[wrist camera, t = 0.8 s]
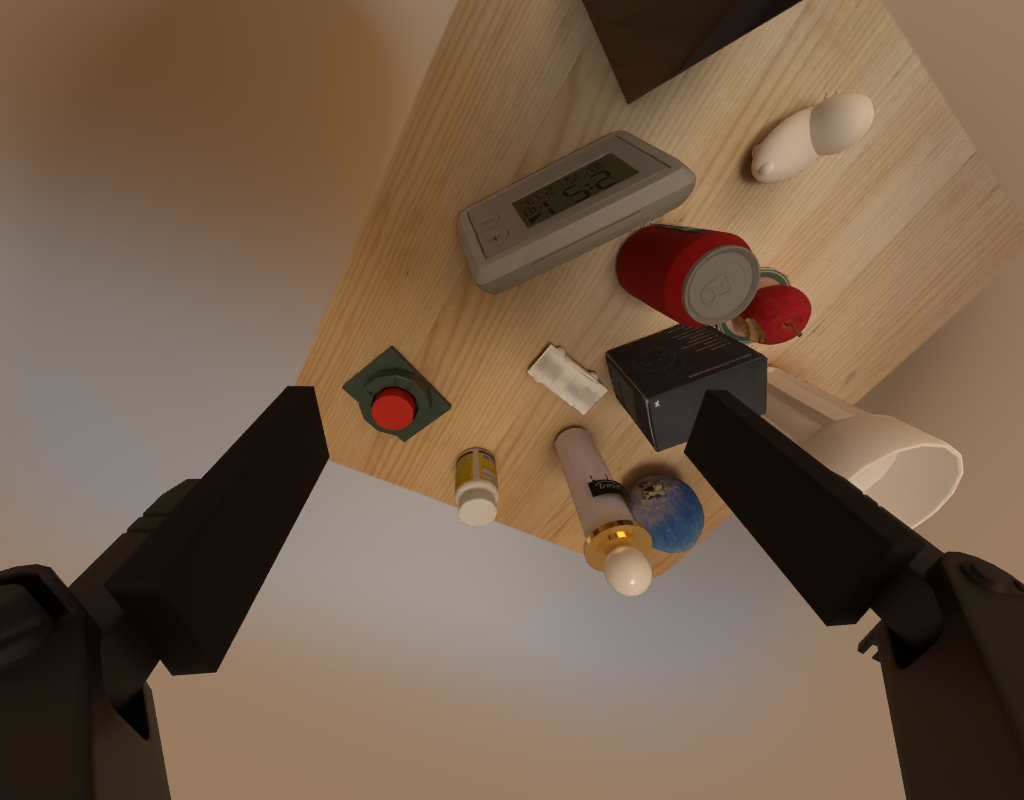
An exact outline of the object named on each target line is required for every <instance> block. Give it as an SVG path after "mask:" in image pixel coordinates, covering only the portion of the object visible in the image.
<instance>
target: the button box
mask: <svg viewBox="0 0 1024 800" xmlns="http://www.w3.org/2000/svg"><path fill="white" fill-rule="evenodd" d="M342 388H343V389H344V390H345V391H346V392H347V393H349V394H350V395H351V396H352V397H353V398H354V399H355V400H357V401H358V402H359V406H360V409H361V412H362V414H363V417H364V419H365V420H366V421H367V422H368V423H369V424H371V425H372V426H373V427H374V428H375V429H376V430H378V431H381V432H384V433H388V434H392V435H397V436H398V437H399V438H400V439H401V440H402V441H403V442H405V441H406V440H408V439H409V438H411V437H412V436H413V435H415V434H416V433H417V432H419V431H420V430H422V429H423V428H424V427H426V426H427V425H429V424H430V423H431V422H433V421H434V420H435V419H437V418H438V417H440V416H441V415H442V414H444V413H445V412H446V411H448V410H449V409H451V405H450V404H449V403H448V402H447V401H446V400H445V399H444V398H443V397H442V396H441V395H440V394H439V393H438V392H437V391H436V389H435V388H434V387H433V386H432V385H431V384H430V383H429V382H428V381H427V380H426V379H425V378H424V377H423V376H422V375H421V374H420V373H419V372H418V371H417V370H416V369H415V368H414V367H413V366H412V365H411V364H410V363H409V362H408V361H407V360H406V359H405V358H404V357H403V356H402V355H401V354H400V353H399V352H398V351H397V350H396V349H395V348H394V347H393V346H391V347H390V348H389V349H387V350H386V351H385V352H384V353H382V354H381V355H380V356H379V357H377V358H376V359H375V360H374V361H373V362H371V363H370V364H369V365H368V366H366V367H365V368H364V369H363V370H361V371H360V372H359V373H358V374H356V375H355V376H354V377H353V378H352V379H350V380H349V381H348V382H347V383H345V384H344V385H343V387H342ZM388 388H400V389H403V390H405V391H407V392H408V393H409V394H410V395H411V396H412V397H413V399H414V401H415V405H416V407H415V412H414V416H413V419H412V421H411V423H410V424H409V425H408V426H407V427H405V428H403V429H400V430H389V429H385V428H383V427H381V426H380V425H379V424H377V423H376V421H375V420H374V418H373V416H372V407H373V404H374V402H375V400H376V398H377V396H378V394H379V393H380V392H382V391H383V390H385V389H388Z"/></svg>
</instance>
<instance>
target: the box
mask: <svg viewBox="0 0 1024 800" xmlns="http://www.w3.org/2000/svg"><path fill="white" fill-rule="evenodd" d="M606 359H607V364H608V368H609V372H610V377H611V380H612V384H613V388H614V391H615V395H616V398H617V399H618V400H619V402H620V403H621V404H622V406H623V407H624V408H625V410H626V411H627V412H628V414H629V415H630V416H631V418H632V419H633V420H634V422H635V423H636V425H637V426H638V427H639V429H640V430H641V431H642V433H643V434H644V435H645V437H646V438H647V439H648V441H649V442H650V444H651V445H652V446H653V447H654V449H655V451H656V452H659V451H662V450H665V449H667V448H670V447H673V446H676V445H679V444H682V443H685V442H687V441H688V439H689V436H690V434H691V431H692V428H693V425H694V422H695V420H696V417H697V414H698V411H699V408H700V406H701V403H702V400H703V397H704V394H705V392H706V390H727V391H729V392H730V393H731V394H732V395H734V396H735V397H736V398H738V399H739V400H740V401H741V402H743V403H744V404H745V405H747V406H748V407H749V408H751V409H752V410H753V411H754V412H756V413H757V414H758V415H760V416H761V415H764V414H765V413H766V405H767V368H768V367H767V364H768V362H767V358H766V357H765V356H764V355H762V354H761V353H759V352H757V351H755V350H753V349H752V348H750V347H748V346H746V345H745V344H743V343H741V342H739V341H737V340H735V339H734V338H732V337H730V336H728V335H726V334H724V333H723V332H721V331H719V330H717V329H716V328H714V327H712V326H706V327H688V326H685V325H682V324H680V325H678V326H675V327H672V328H670V329H667V330H665V331H662V332H660V333H657V334H654V335H651V336H649V337H646V338H643V339H641V340H638V341H636V342H633V343H630V344H628V345H625V346H622V347H620V348H617V349H614V350H612V351H609V352H607V354H606Z"/></svg>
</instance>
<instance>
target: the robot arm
mask: <svg viewBox="0 0 1024 800" xmlns="http://www.w3.org/2000/svg"><path fill="white" fill-rule="evenodd" d="M684 453H685V454H686V456H687V457H688V458H689V459H690V460H691V462H692V463H693V464H694V465H695V467H696V468H697V469H698V470H699V471H700V473H701V474H702V475H703V476H704V478H705V479H706V480H707V481H708V482H709V484H710V485H711V486H712V487H713V488H714V490H715V491H716V492H717V493H718V495H719V496H720V497H721V498H722V499H723V501H724V502H725V503H726V504H727V506H728V507H729V508H730V509H731V510H732V512H733V513H734V514H735V515H736V516H737V517H738V519H739V520H740V521H741V523H742V524H743V525H744V526H745V527H746V529H748V531H749V532H750V533H751V535H752V536H753V537H754V538H755V540H756V541H757V542H758V543H759V544H760V546H761V547H762V548H763V549H764V550H765V552H766V553H767V554H768V555H769V557H770V558H771V559H772V560H773V561H774V563H775V564H776V565H777V566H778V568H779V569H780V570H781V571H782V572H783V574H784V575H785V576H786V577H787V579H788V580H789V581H790V582H791V583H792V584H793V586H794V587H795V588H796V589H797V591H798V592H799V593H800V594H801V595H802V597H803V598H804V599H805V600H806V602H807V603H808V604H809V605H810V606H811V608H812V609H813V610H814V611H815V613H816V614H817V615H818V616H819V617H820V619H821V620H822V621H823V622H824V624H825V625H826V626H836V625H848V624H856V623H857V622H858V621H859V620H860V618H861V617H862V616H863V615H864V614H865V613H866V612H867V611H868V609H869V608H871V609H872V610H873V611H874V612H875V613H876V614H877V615H878V616H879V617H880V618H881V621H880V622H879V623H878V624H877V625H876V626H875V627H874V628H873V629H872V630H871V631H870V632H869V633H868V634H867V636H865V637H864V639H863V640H862V641H861V642H860V643H859V645H858V651H859V652H861V653H862V654H864V653H865V652H866V651H867V650H868V649H869V648H870V647H871V646H872V645H875V646H877V647H878V652H877V653H876V654H875V655H874V656H873V657H872V658H873V659H874V660H876V661H879V662H880V663H881V668H882V673H883V679H884V684H885V689H886V695H887V700H888V705H889V710H890V715H891V720H892V726H893V731H894V736H895V742H896V747H897V753H898V758H899V762H900V768H901V774H902V779H903V784H904V789H905V795H906V800H1024V584H1023V583H1021V582H1020V581H1018V580H1017V579H1016V578H1014V577H1013V576H1012V575H1010V574H1009V573H1007V572H1005V571H1004V570H1002V569H1000V568H998V567H997V566H995V565H993V564H991V563H989V562H986V561H984V560H982V559H980V558H978V557H975V556H971V555H968V554H965V553H961V552H946V553H943V552H941V551H940V550H939V549H937V548H936V547H934V546H933V545H932V544H931V543H930V542H928V541H927V540H926V539H924V538H923V537H922V536H920V535H919V534H918V533H916V532H915V531H914V530H912V529H911V528H910V527H909V526H907V525H906V524H905V523H903V522H902V521H901V520H899V519H898V518H897V517H895V516H894V515H893V514H891V513H890V512H889V511H888V510H886V509H885V508H884V507H882V506H878V503H877V502H876V501H874V500H873V499H872V498H871V497H869V496H868V495H867V494H865V495H864V494H863V491H861V490H860V489H859V488H857V487H856V486H855V485H853V484H852V483H851V482H850V481H848V480H847V479H846V478H844V477H842V476H840V475H839V474H837V473H835V472H833V471H831V470H829V469H828V468H827V467H826V466H824V465H823V464H822V463H820V462H819V461H818V460H817V459H815V458H814V457H813V456H811V455H810V454H809V453H807V452H806V451H805V450H804V449H802V448H801V447H800V446H798V445H797V444H796V443H795V442H793V441H792V440H791V439H789V438H788V437H787V436H785V435H784V434H783V433H782V432H780V431H779V430H778V429H776V428H775V427H774V426H773V425H771V424H770V423H769V422H767V421H766V420H765V419H763V418H762V417H761V416H760V415H758V414H757V413H756V412H754V411H753V410H752V409H751V408H749V407H748V406H747V405H745V404H744V403H743V402H741V401H740V400H739V399H738V398H736V397H735V396H734V395H732V394H731V393H730V392H729V391H727V390H706V392H705V394H704V397H703V400H702V403H701V406H700V408H699V411H698V414H697V417H696V420H695V422H694V425H693V428H692V431H691V434H690V436H689V439H688V442H687V445H686V448H685V450H684ZM328 459H329V452H328V448H327V444H326V439H325V435H324V430H323V426H322V421H321V417H320V412H319V408H318V403H317V399H316V395H315V390H314V386H287V387H286V388H285V389H284V391H283V392H282V393H281V394H280V395H279V396H278V397H277V398H276V399H275V400H274V401H273V402H272V403H271V404H270V406H269V407H268V408H267V409H266V410H265V411H264V412H263V413H262V414H261V415H260V416H259V417H258V419H257V420H256V421H255V422H254V423H253V424H252V425H251V426H250V427H249V428H248V429H247V430H246V431H245V432H244V433H243V434H242V436H241V437H240V438H239V439H238V440H237V441H236V442H235V443H234V444H233V445H232V446H231V447H230V449H228V451H227V452H226V453H225V454H224V455H223V456H222V457H221V458H220V459H219V460H218V461H217V462H216V464H215V465H214V466H213V467H212V468H211V469H210V470H209V471H208V472H207V473H206V474H205V475H204V476H203V477H202V479H187V480H185V481H183V482H182V483H181V484H179V485H177V486H175V487H174V488H172V489H171V490H169V491H167V492H166V493H164V494H162V495H161V496H160V497H159V498H158V499H157V500H156V501H155V502H154V503H153V504H152V505H151V506H150V507H149V508H148V509H147V510H146V511H145V512H144V513H143V517H139V518H138V519H137V520H136V521H135V522H134V523H133V524H132V525H131V526H130V527H129V528H128V529H127V533H123V534H122V535H121V536H120V537H119V538H118V539H117V540H116V541H115V542H114V543H113V544H112V545H111V546H110V547H109V548H108V549H107V550H106V551H105V552H104V553H103V554H102V555H100V557H99V558H98V559H96V560H95V561H94V562H93V563H92V564H91V565H90V566H89V567H88V568H87V569H86V570H85V571H84V572H83V573H82V574H81V575H80V576H79V577H78V578H77V579H76V580H75V581H74V582H73V583H72V584H71V585H70V586H69V587H68V588H67V586H66V585H65V584H64V583H63V581H62V580H61V579H60V578H59V577H58V576H57V574H56V573H55V572H54V571H53V570H52V568H51V567H47V566H42V565H38V564H34V565H27V566H26V565H25V566H17V567H13V568H10V569H6V570H3V571H0V800H171V797H170V791H169V786H168V780H167V775H166V769H165V763H164V757H163V752H162V746H161V741H160V735H159V729H158V723H157V718H156V712H155V706H154V701H153V695H152V690H151V688H150V687H149V685H148V684H147V682H146V680H147V678H148V677H149V675H150V674H151V672H152V671H153V669H154V668H155V666H156V665H157V663H158V662H159V660H161V661H162V663H163V664H164V665H165V667H166V668H167V669H168V671H169V672H170V673H171V675H172V676H175V675H188V674H201V673H214V672H217V669H218V668H219V666H220V664H221V662H222V660H223V659H224V657H225V655H226V653H227V651H228V649H229V647H230V645H231V643H232V641H233V639H234V638H235V636H236V634H237V632H238V630H239V628H240V626H241V624H242V622H243V621H244V619H245V617H246V615H247V613H248V611H249V609H250V607H251V605H252V603H253V602H254V600H255V598H256V596H257V594H258V592H259V590H260V588H261V586H262V584H263V583H264V581H265V579H266V577H267V575H268V573H269V571H270V569H271V567H272V565H273V563H274V562H275V560H276V558H277V556H278V554H279V552H280V550H281V548H282V546H283V544H284V543H285V541H286V539H287V537H288V535H289V533H290V531H291V529H292V527H293V525H294V523H295V522H296V520H297V518H298V516H299V514H300V512H301V510H302V508H303V506H304V504H305V503H306V501H307V499H308V497H309V495H310V493H311V491H312V489H313V487H314V486H315V484H316V482H317V480H318V478H319V476H320V474H321V472H322V470H323V468H324V466H325V465H326V463H327V461H328Z"/></svg>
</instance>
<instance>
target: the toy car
mask: <svg viewBox="0 0 1024 800" xmlns="http://www.w3.org/2000/svg"><path fill="white" fill-rule="evenodd" d="M527 373H529V374H530V375H531V376H533V379H534V380H535V381H536V382H538V383H542V384H543V385H544V386H546V387H547V388H548V389H550V390H551V391H552V392H554V393H555V394H556V395H558V396H559V397H560V398H562V399H563V400H564V401H566V403H567V404H568V405H569V406H573V407H574V408H576V409H577V410H578V411H579V412H581V413H582V414H583V415H585V413H586V412H587V411H588V410H589V409H590V408H591V407H592V406H593V405H594V404H595V403H596V402H597V401H598V400H599V399H600V398H601V397H602V396H603V395H604V394H605V393H606V392H607V391H608V389H607V388H606V387H605V386H604V385H603V383H602V382H601V381H599V380H598V375H597V374H596V373H594V372H590V373H589V372H588V371H587V370H586V369H584V368H583V367H582V366H580V365H579V364H578V363H576V362H575V361H574V360H572V359H571V358H570V357H569V356H567V355H566V353H565V350H564V349H563V348H560V347H558V348H556V347H555V346H553V345H552V344H551V345H550V346H549V347H548V348H547V349H546V351H545V352H544V353H543V354H542V355H541V357H540V358H539V359H538V360H537V361H536V362H535V363H534V365H533V366H532V367H531V368H530V369H529V371H528V372H527Z"/></svg>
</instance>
